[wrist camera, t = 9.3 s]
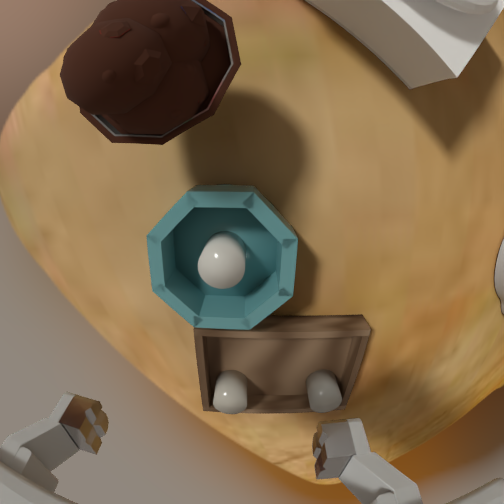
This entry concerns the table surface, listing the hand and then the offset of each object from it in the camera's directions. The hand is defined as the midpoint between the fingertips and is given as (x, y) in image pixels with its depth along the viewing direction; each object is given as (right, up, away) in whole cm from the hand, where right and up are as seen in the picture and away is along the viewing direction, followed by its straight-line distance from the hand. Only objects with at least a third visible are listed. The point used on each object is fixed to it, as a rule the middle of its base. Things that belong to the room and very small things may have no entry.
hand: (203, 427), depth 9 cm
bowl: (-1, +7, +19) cm, 20 cm away
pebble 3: (+10, -10, +24) cm, 28 cm away
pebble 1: (-1, +6, +18) cm, 19 cm away
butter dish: (+16, +34, +9) cm, 38 cm away
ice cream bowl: (-4, +21, +14) cm, 26 cm away
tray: (+5, -7, +24) cm, 25 cm away
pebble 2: (-1, -9, +24) cm, 26 cm away
